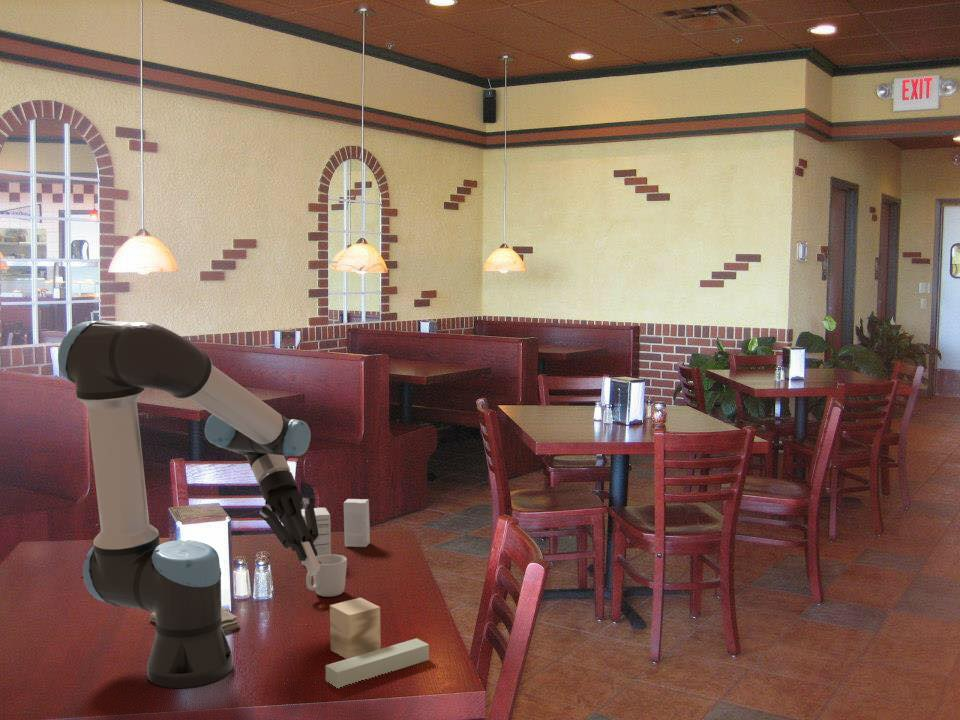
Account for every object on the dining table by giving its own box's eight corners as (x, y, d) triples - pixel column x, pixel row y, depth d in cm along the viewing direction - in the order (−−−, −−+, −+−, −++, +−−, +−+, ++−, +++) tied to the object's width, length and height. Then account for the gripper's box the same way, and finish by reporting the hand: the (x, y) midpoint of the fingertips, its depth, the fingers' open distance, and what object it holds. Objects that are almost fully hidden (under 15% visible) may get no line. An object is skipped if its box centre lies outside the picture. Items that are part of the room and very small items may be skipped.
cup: (320, 605, 216) (319, 570, 215) (295, 598, 221) (294, 563, 220) (354, 592, 224) (354, 558, 224) (330, 585, 229) (329, 552, 228)
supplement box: (298, 557, 251) (297, 508, 249) (327, 554, 253) (326, 506, 251) (301, 566, 244) (300, 516, 242) (331, 563, 246) (330, 513, 244)
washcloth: (193, 645, 195) (192, 630, 195) (146, 623, 207) (146, 609, 207) (244, 629, 204) (243, 614, 203) (196, 608, 216) (196, 595, 215)
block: (349, 661, 186) (348, 615, 185) (330, 650, 192) (329, 605, 191) (380, 652, 191) (380, 607, 190) (361, 641, 196) (360, 597, 195)
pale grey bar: (337, 688, 174) (336, 672, 174) (325, 681, 177) (325, 665, 177) (428, 659, 187) (428, 644, 186) (416, 653, 190) (416, 638, 190)
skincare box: (370, 543, 263) (369, 499, 262) (366, 547, 259) (365, 503, 258) (348, 542, 264) (347, 498, 263) (343, 546, 260) (343, 502, 258)
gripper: (295, 483, 221) (335, 574, 210) (241, 492, 213) (280, 587, 202) (306, 464, 217) (348, 556, 206) (252, 473, 208) (293, 569, 197)
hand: (315, 572), depth 204 cm, fingers closed
